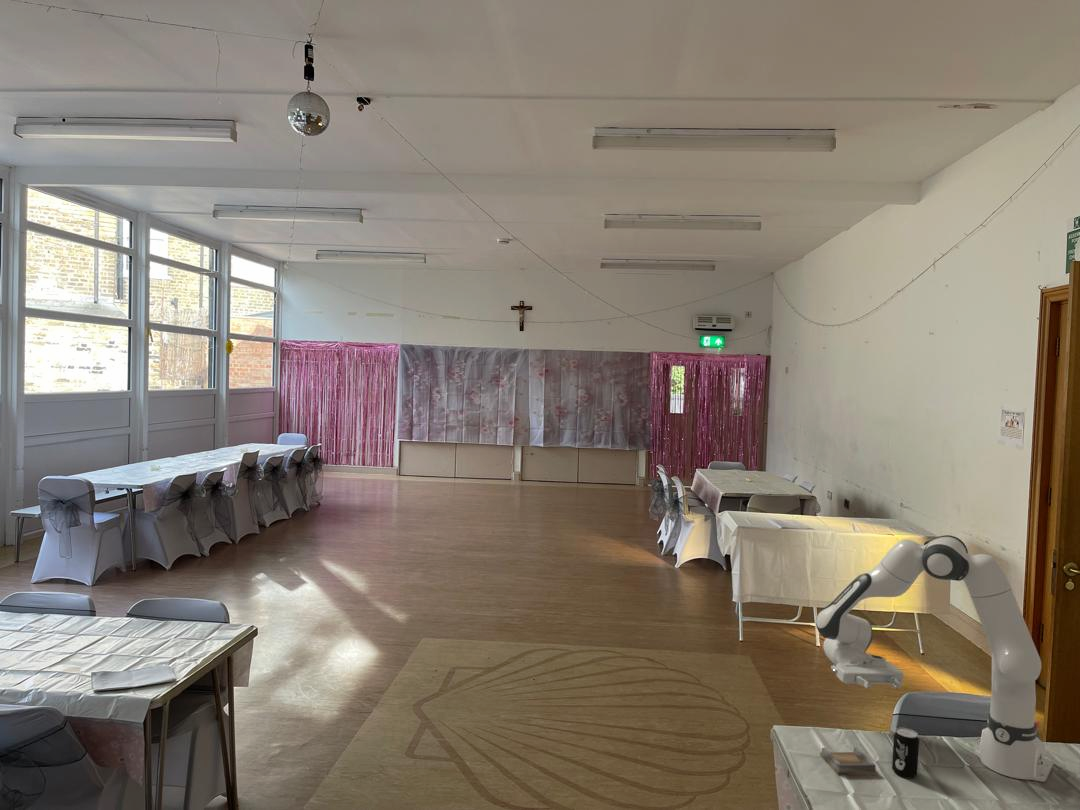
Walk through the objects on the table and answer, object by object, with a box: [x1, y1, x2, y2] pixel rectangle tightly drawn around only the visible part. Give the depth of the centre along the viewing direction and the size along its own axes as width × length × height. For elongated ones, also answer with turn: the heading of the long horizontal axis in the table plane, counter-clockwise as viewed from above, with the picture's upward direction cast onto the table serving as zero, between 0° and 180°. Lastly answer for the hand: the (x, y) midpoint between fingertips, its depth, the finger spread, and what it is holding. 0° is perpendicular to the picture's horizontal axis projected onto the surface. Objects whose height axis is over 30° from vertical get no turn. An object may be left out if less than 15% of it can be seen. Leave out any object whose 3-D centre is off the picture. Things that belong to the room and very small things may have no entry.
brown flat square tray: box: [819, 746, 876, 776], centre depth 213 cm, size 11×11×3 cm
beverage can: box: [891, 727, 920, 779], centre depth 209 cm, size 7×7×12 cm
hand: (883, 686), depth 220 cm, fingers open, 8 cm apart
